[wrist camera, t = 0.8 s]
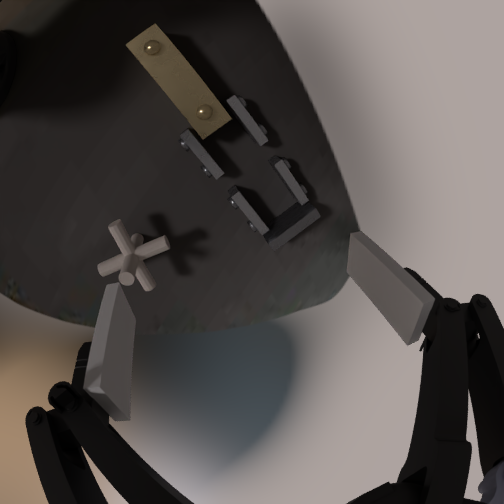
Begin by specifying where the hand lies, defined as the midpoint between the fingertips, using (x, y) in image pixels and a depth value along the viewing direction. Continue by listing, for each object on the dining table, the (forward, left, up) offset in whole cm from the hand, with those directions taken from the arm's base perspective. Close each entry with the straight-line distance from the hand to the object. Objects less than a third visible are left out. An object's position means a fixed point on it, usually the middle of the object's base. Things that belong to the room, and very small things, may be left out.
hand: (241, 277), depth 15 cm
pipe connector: (+1, -13, -24) cm, 28 cm away
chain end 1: (+8, +5, -24) cm, 26 cm away
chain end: (-3, +5, -24) cm, 25 cm away
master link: (-12, +5, -24) cm, 28 cm away
